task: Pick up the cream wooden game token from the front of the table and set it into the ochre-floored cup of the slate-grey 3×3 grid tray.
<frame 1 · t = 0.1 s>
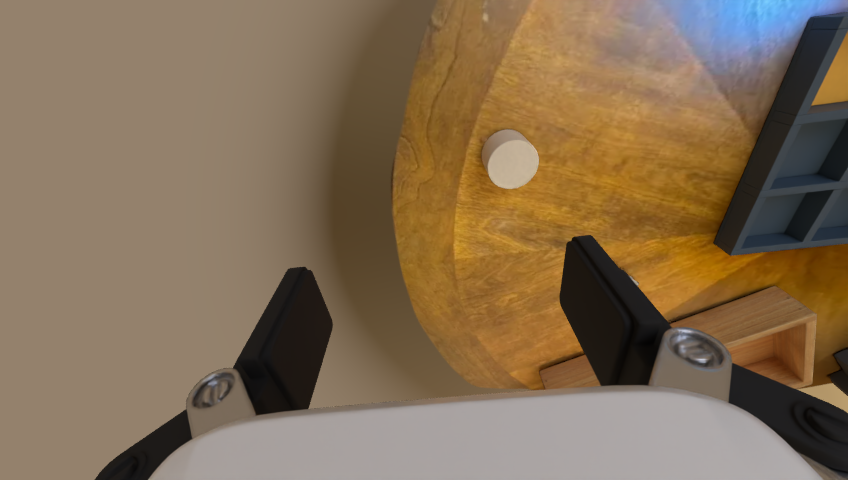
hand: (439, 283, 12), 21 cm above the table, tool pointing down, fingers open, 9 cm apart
tray: (653, 357, 48), on the table
token: (504, 152, 31), on the table
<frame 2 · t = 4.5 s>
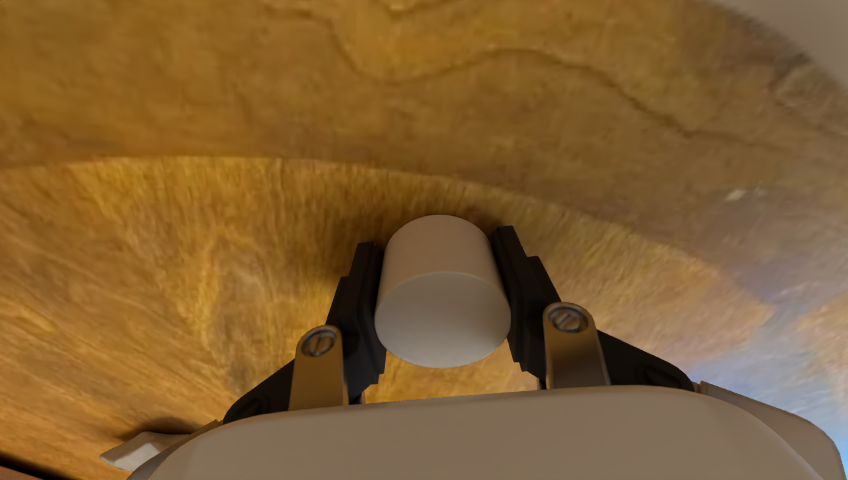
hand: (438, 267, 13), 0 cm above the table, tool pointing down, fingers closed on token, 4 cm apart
stone: (182, 436, 21), on the table
token: (438, 261, 13), on the table, touching gripper
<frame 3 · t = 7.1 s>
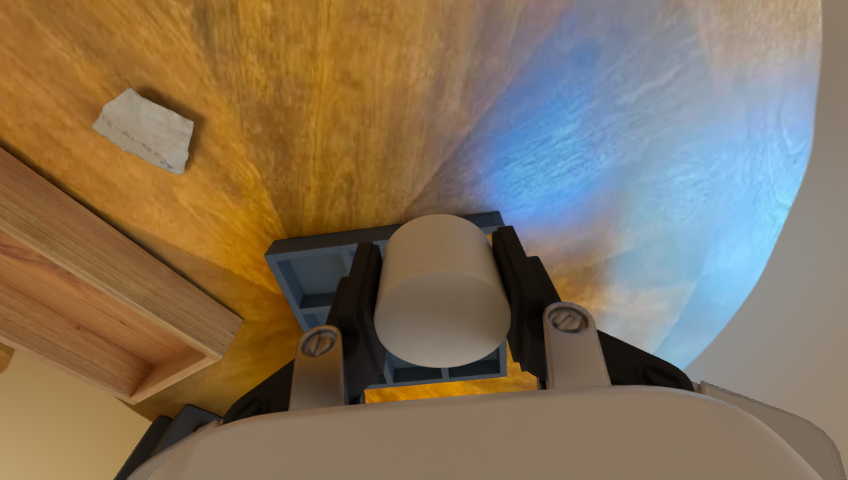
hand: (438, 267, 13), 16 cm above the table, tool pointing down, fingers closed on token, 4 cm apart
grid: (404, 308, 36), on the table
tray: (69, 253, 32), on the table
stone: (161, 124, 25), on the table
light fixture: (219, 409, 47), on the table
token: (438, 261, 13), point 15 cm above the table, touching gripper
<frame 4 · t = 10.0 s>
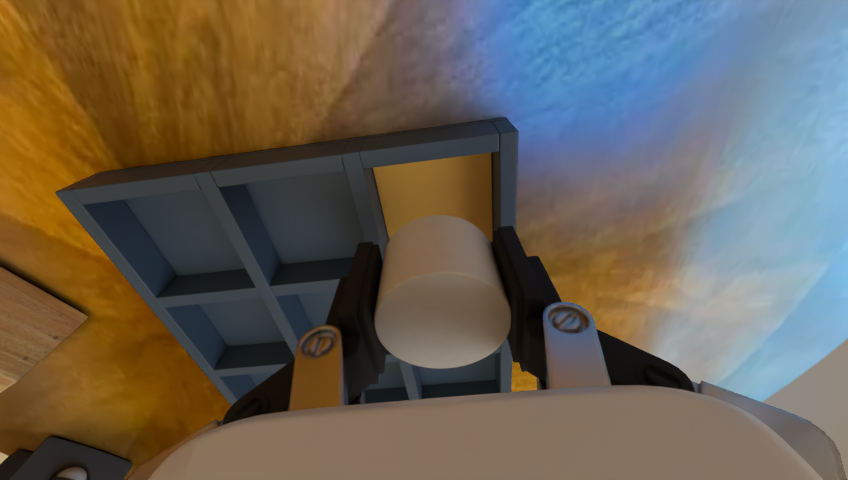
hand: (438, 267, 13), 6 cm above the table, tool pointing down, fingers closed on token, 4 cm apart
grid: (347, 300, 22), on the table
light fixture: (101, 441, 33), on the table
token: (438, 261, 13), point 6 cm above the table, touching gripper
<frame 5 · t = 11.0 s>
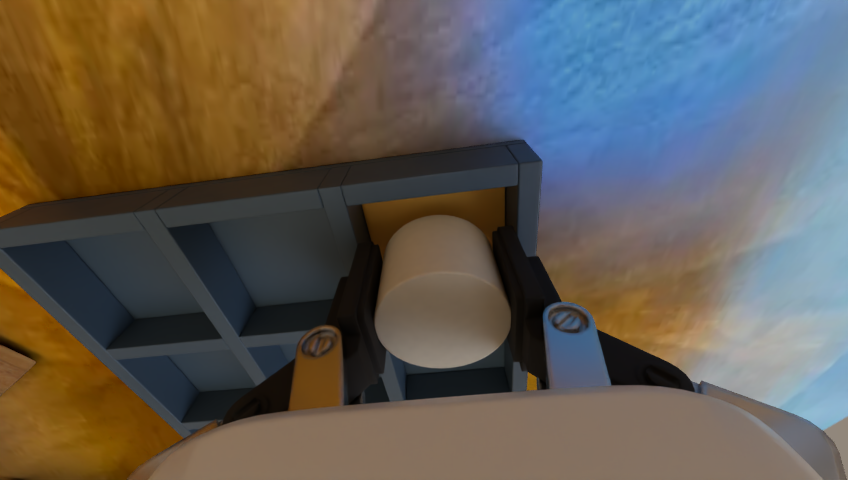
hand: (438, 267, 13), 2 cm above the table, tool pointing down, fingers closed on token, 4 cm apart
grid: (335, 343, 19), on the table
token: (438, 261, 13), point 2 cm above the table, touching gripper
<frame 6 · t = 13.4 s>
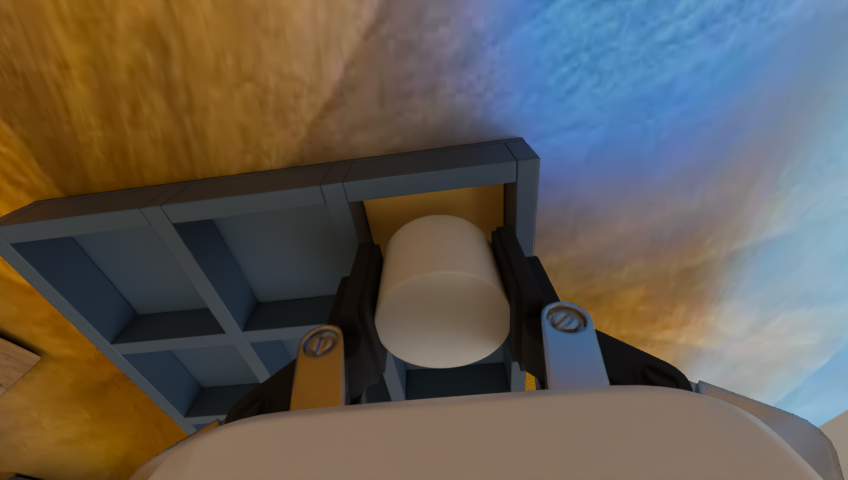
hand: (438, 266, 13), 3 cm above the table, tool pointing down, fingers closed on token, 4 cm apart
grid: (336, 338, 19), on the table
light fixture: (72, 479, 30), on the table
token: (438, 261, 13), point 2 cm above the table, touching gripper
when the fingers open (3 cm above the table, at t = 15.6 s): token drops 2 cm, resting on grid.
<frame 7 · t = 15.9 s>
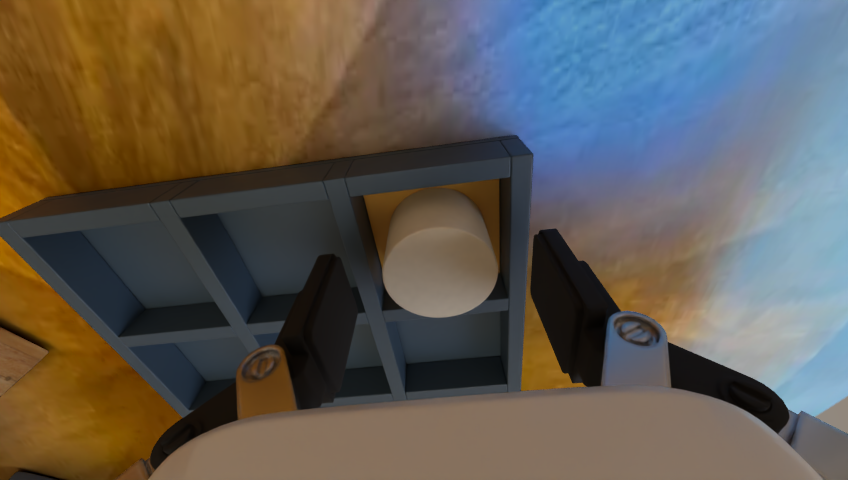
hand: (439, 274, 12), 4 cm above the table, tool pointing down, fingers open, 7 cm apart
grid: (337, 332, 20), on the table
light fixture: (76, 474, 31), on the table
token: (436, 230, 15), point 1 cm above the table, touching grid
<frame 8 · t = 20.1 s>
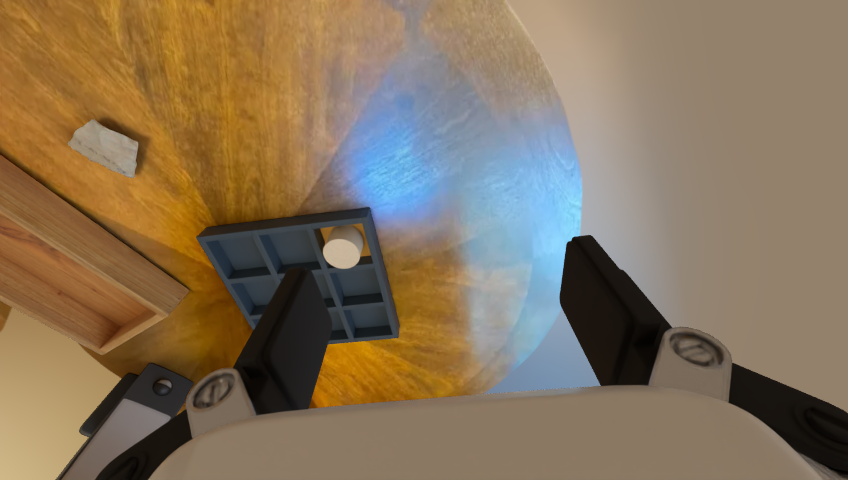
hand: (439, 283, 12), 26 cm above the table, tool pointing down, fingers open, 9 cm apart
grid: (313, 281, 46), on the table
tray: (53, 235, 42), on the table
stone: (118, 142, 35), on the table
light fixture: (177, 367, 57), on the table
token: (347, 239, 41), point 1 cm above the table, touching grid
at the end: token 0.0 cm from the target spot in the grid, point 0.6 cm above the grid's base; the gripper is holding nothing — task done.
